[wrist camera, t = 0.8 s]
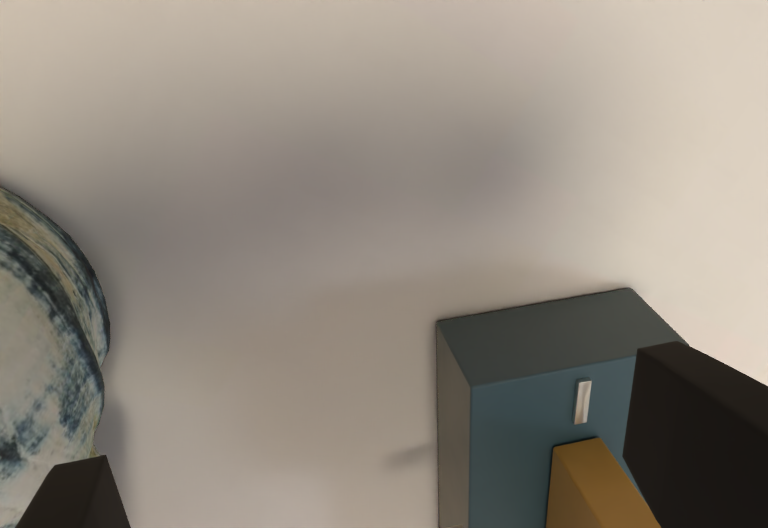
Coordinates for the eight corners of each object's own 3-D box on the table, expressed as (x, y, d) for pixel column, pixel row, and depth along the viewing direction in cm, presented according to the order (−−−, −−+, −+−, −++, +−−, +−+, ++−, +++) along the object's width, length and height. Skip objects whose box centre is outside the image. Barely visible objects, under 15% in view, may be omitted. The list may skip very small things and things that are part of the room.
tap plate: (638, 511, 27) (687, 584, 24) (394, 567, 25) (419, 653, 22) (680, 278, 22) (749, 338, 19) (380, 330, 20) (409, 403, 17)
